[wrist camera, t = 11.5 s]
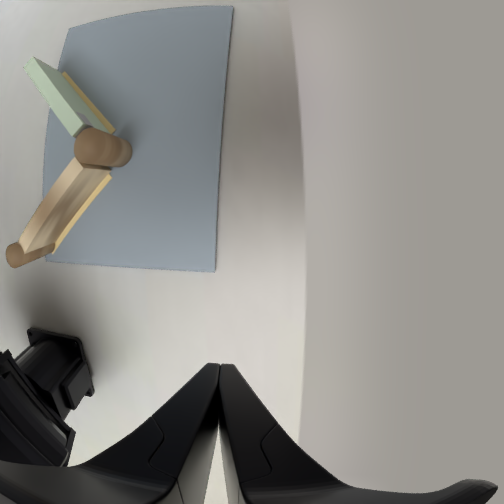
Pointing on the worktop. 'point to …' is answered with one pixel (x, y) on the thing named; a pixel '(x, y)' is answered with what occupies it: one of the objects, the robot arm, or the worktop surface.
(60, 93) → the fence panel
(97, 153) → the wooden wall with posts
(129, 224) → the board
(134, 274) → the worktop surface
